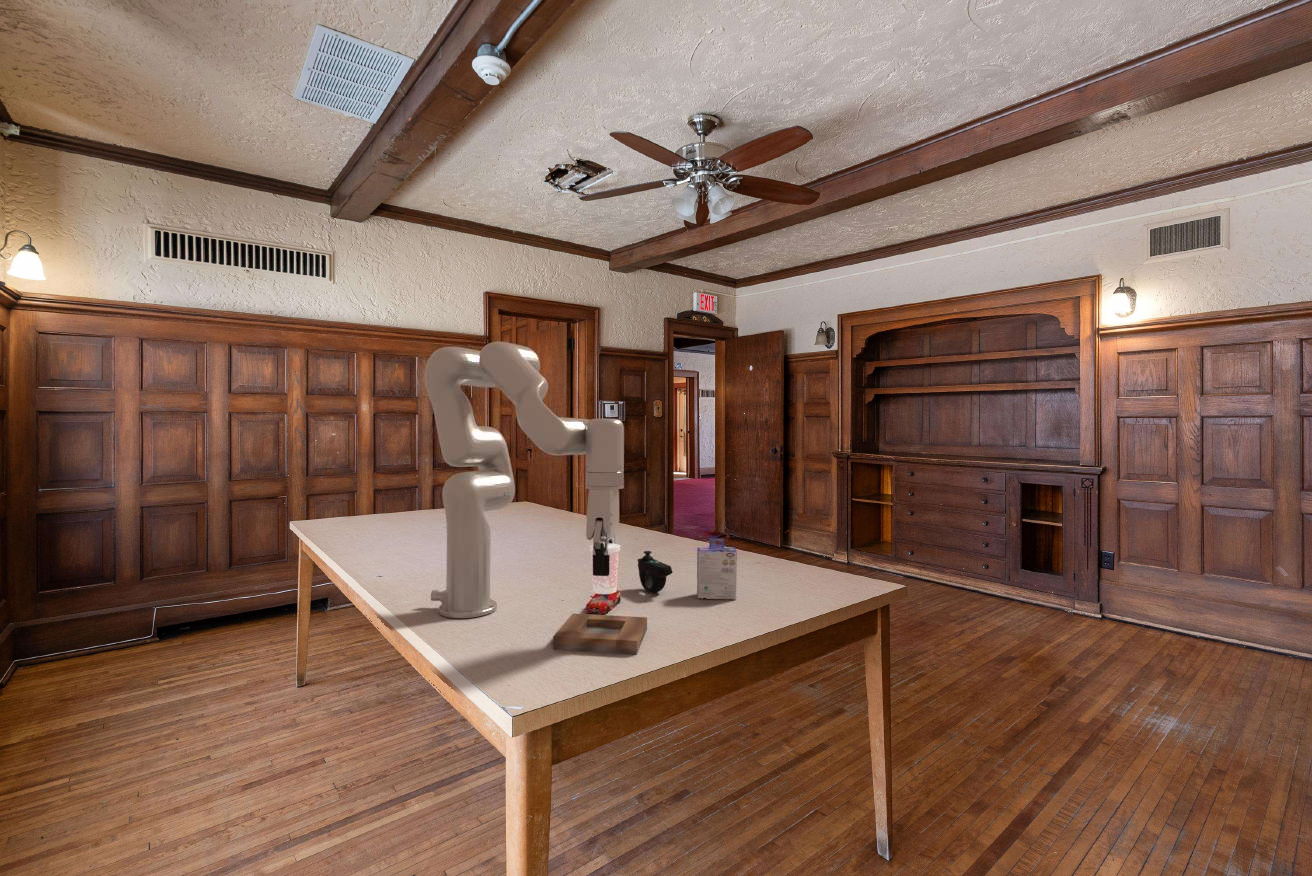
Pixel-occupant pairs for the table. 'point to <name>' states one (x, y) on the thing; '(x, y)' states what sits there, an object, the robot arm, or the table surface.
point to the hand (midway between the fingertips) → (604, 570)
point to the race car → (603, 603)
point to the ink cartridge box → (716, 571)
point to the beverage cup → (610, 582)
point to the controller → (652, 573)
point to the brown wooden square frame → (601, 633)
